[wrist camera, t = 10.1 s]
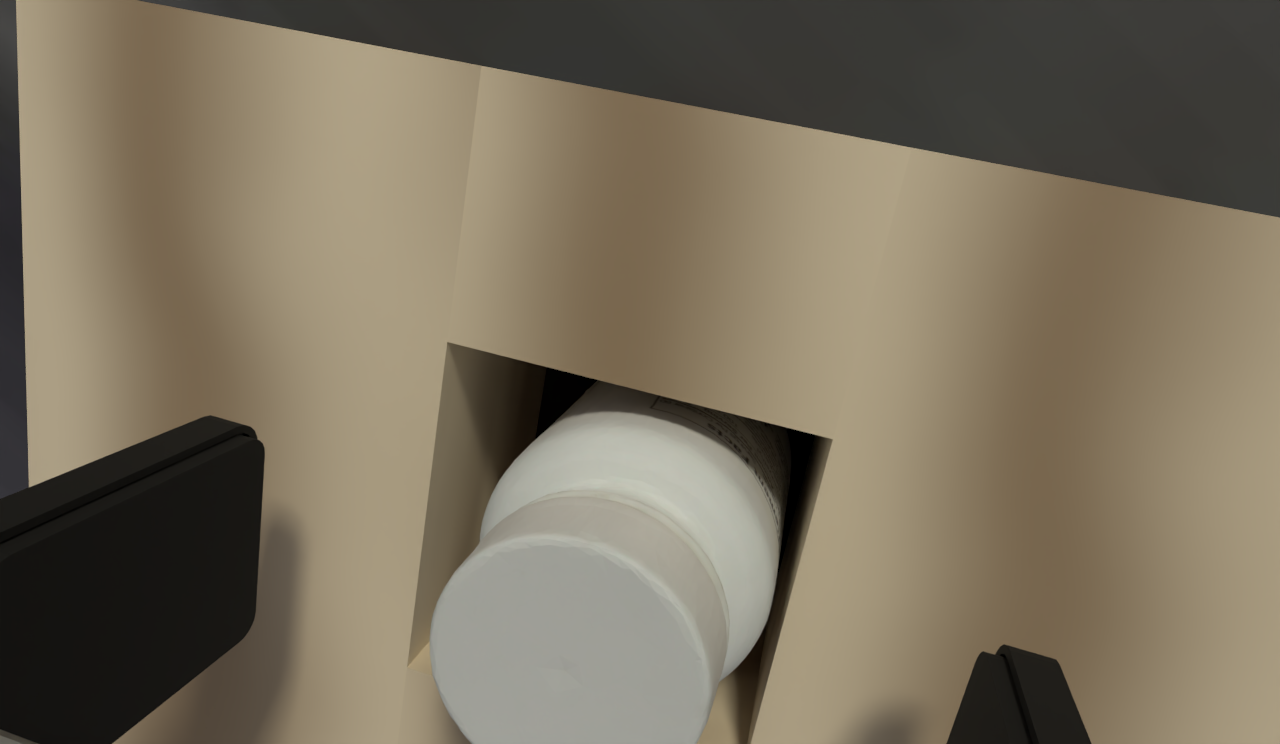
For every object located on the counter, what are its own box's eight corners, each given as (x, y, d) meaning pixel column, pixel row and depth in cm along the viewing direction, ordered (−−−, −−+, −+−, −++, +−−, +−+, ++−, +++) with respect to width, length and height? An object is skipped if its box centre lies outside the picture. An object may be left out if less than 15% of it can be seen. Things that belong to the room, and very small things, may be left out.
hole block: (1348, 238, 13) (1619, 283, 9) (1078, 868, 17) (1166, 1138, 12) (247, 27, 17) (15, -23, 12) (220, 591, 21) (35, 720, 16)
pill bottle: (608, 564, 18) (450, 845, 11) (553, 367, 17) (342, 525, 10) (814, 536, 17) (796, 830, 9) (766, 323, 16) (705, 465, 9)
